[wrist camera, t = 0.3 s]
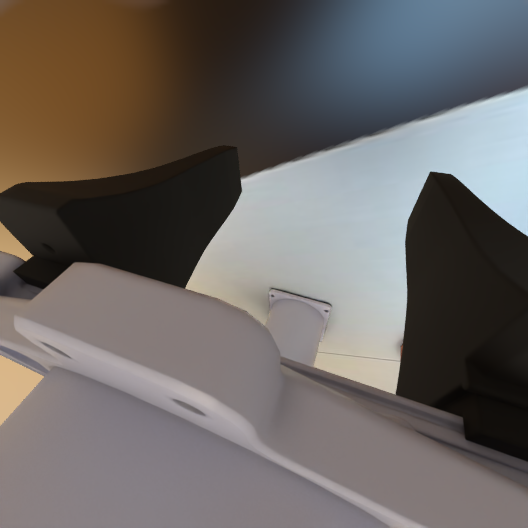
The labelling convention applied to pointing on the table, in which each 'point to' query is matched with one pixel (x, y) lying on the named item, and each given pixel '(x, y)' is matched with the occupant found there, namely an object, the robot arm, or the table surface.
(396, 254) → the table surface
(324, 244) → the table surface
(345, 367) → the table surface
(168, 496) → the robot arm
